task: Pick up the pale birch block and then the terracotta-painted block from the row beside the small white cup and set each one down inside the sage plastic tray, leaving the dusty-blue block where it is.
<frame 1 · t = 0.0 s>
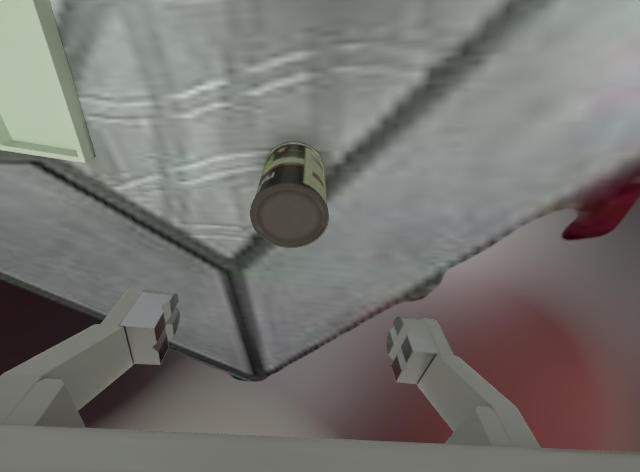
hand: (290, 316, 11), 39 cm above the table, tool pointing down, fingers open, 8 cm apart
coffee can: (294, 171, 49), on the table
tray: (28, 80, 40), on the table
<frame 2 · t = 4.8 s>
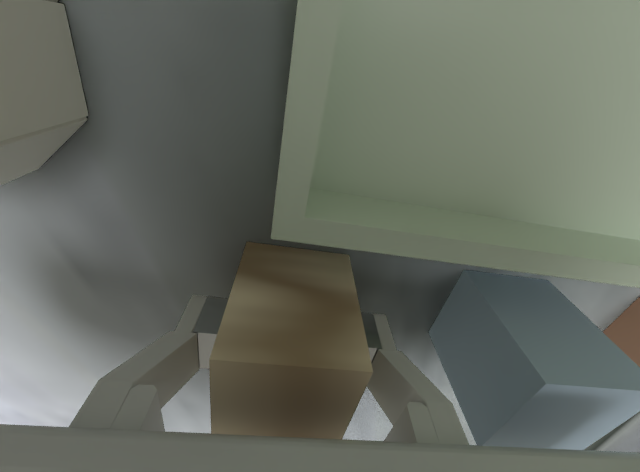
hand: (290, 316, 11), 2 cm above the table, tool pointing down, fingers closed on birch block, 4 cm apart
birch block: (292, 286, 12), on the table, touching gripper
blue block: (484, 307, 14), on the table
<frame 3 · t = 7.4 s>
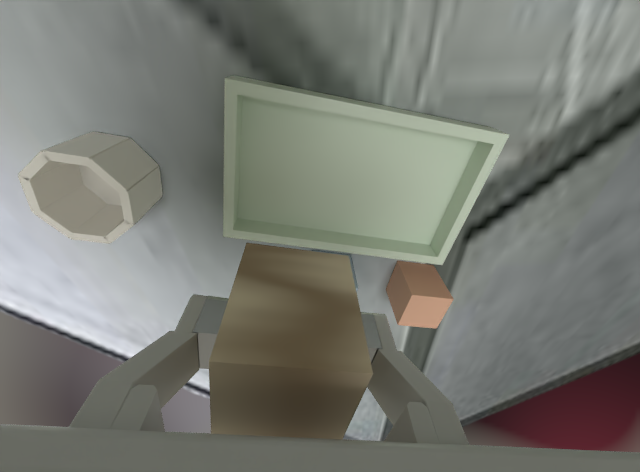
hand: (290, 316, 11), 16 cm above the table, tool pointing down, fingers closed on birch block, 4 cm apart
birch block: (292, 287, 12), point 14 cm above the table, touching gripper
cup: (119, 175, 24), on the table
terracotta block: (408, 277, 31), on the table
tray: (350, 177, 25), on the table
when the fingers open (4 cm above the table, at t = 9.8 s): birch block drops 1 cm, resting on tray.
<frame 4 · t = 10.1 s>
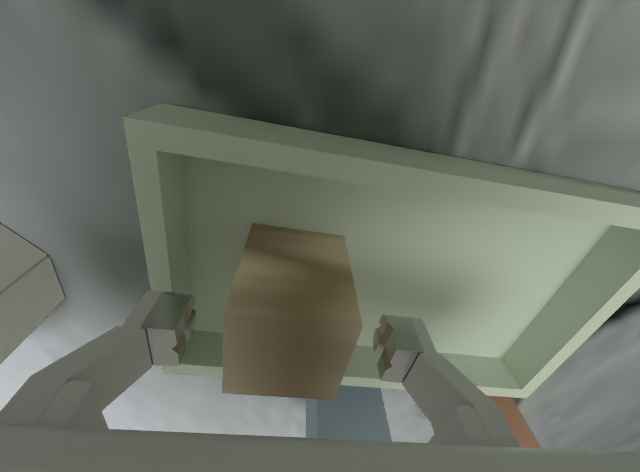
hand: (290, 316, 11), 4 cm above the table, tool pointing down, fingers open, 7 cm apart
birch block: (293, 265, 14), point 1 cm above the table, touching tray
blue block: (339, 381, 20), on the table
terracotta block: (460, 390, 21), on the table
tray: (382, 269, 15), on the table
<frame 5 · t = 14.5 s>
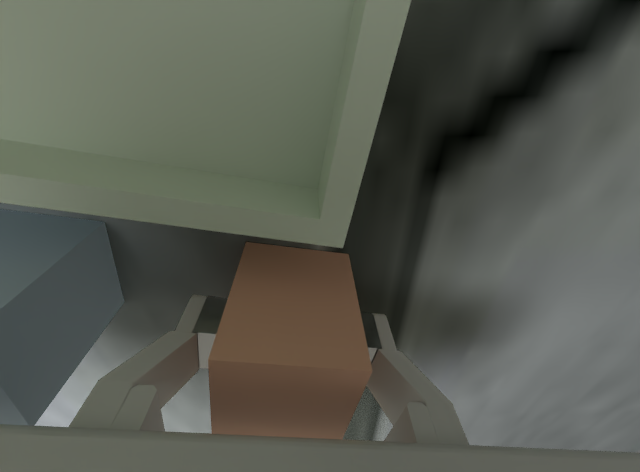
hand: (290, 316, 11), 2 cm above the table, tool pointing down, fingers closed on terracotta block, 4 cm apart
blue block: (60, 259, 11), on the table
terracotta block: (292, 286, 12), on the table, touching gripper
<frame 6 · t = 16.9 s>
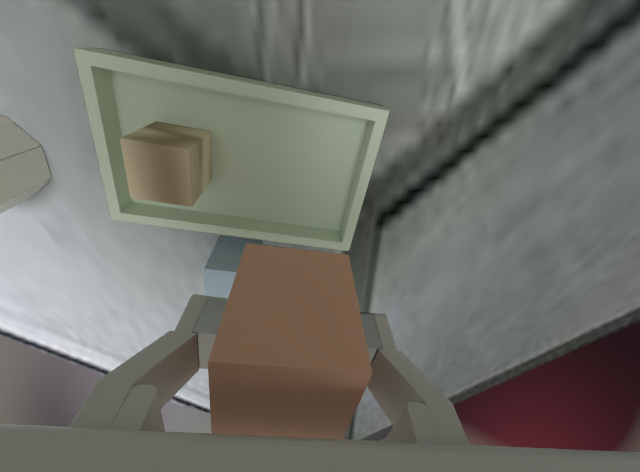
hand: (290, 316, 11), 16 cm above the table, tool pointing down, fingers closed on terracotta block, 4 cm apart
birch block: (185, 152, 23), point 1 cm above the table, touching tray
blue block: (240, 255, 29), on the table
cup: (1, 155, 23), on the table
terracotta block: (292, 287, 12), point 15 cm above the table, touching gripper
tray: (245, 159, 24), on the table
when the fingers open (4 cm above the table, at t = 19.4 s): terracotta block drops 1 cm, resting on tray.
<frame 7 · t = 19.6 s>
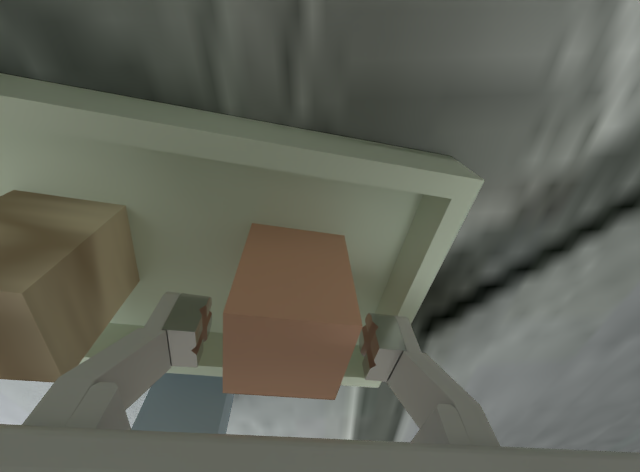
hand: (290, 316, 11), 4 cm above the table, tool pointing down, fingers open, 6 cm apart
birch block: (83, 240, 12), point 1 cm above the table, touching tray
blue block: (203, 371, 19), on the table
terracotta block: (293, 265, 14), point 1 cm above the table, touching tray
tray: (197, 245, 13), on the table
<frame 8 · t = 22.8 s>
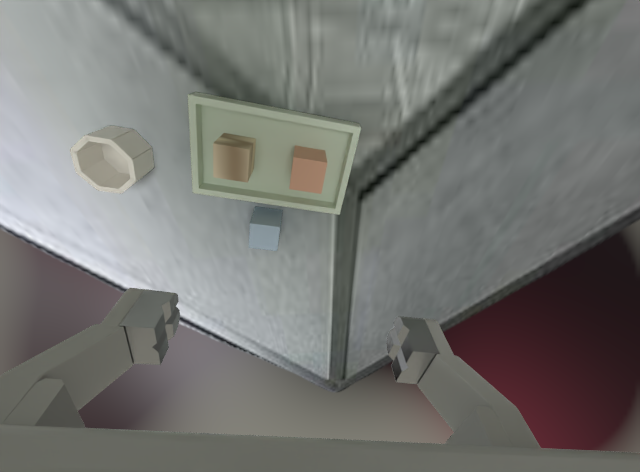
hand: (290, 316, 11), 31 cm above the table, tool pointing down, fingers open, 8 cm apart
birch block: (239, 151, 38), point 1 cm above the table, touching tray
blue block: (268, 219, 44), on the table
cup: (126, 153, 38), on the table
terracotta block: (307, 162, 39), point 1 cm above the table, touching tray
tray: (274, 155, 39), on the table
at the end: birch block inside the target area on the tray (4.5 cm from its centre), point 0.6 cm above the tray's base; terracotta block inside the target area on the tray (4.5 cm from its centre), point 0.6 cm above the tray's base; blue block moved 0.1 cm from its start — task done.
